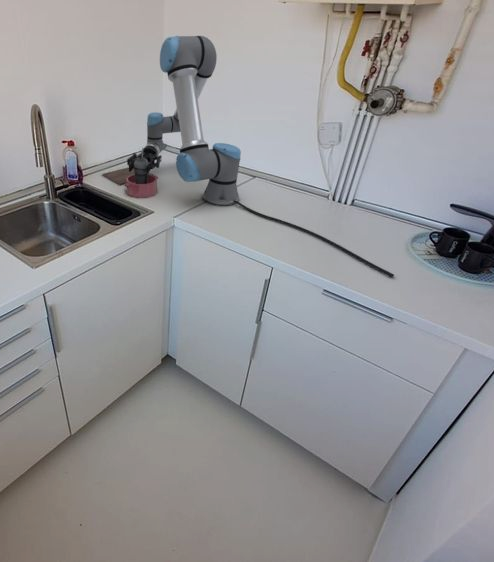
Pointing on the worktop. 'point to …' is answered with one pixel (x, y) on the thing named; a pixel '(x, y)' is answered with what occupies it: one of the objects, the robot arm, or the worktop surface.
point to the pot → (141, 187)
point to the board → (119, 175)
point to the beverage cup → (141, 170)
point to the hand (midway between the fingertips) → (138, 169)
